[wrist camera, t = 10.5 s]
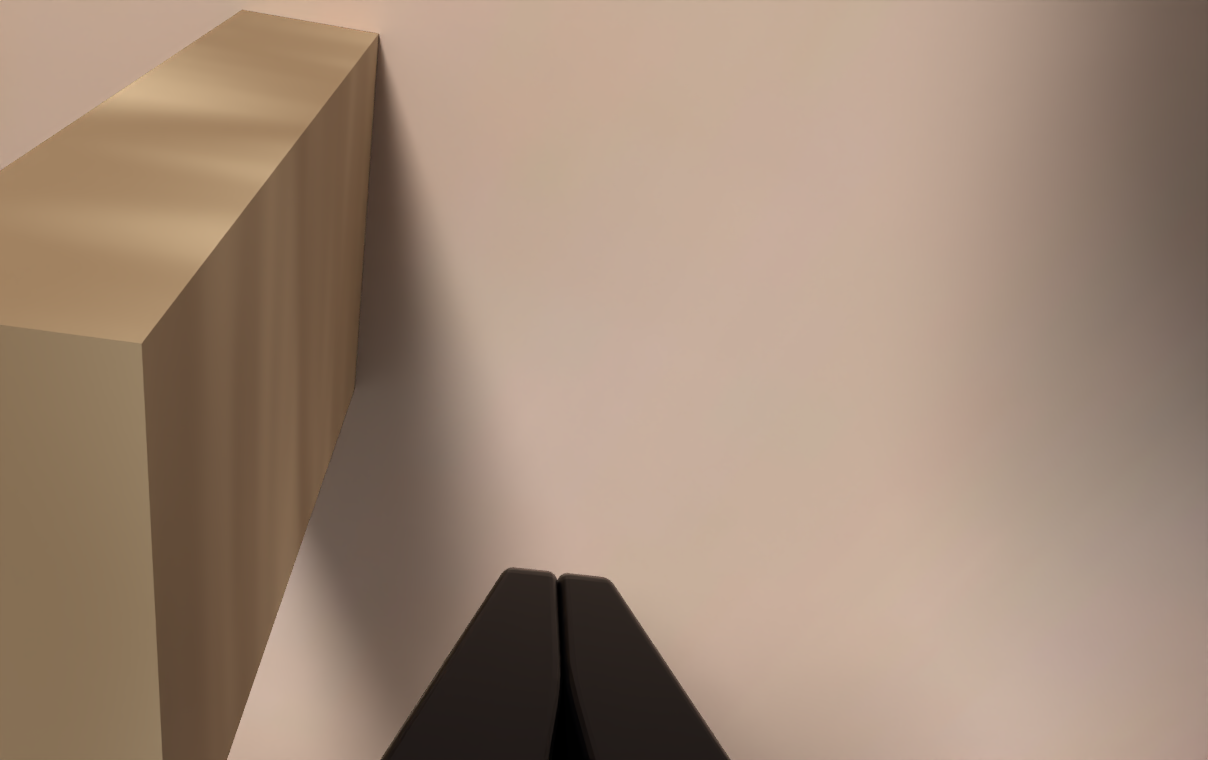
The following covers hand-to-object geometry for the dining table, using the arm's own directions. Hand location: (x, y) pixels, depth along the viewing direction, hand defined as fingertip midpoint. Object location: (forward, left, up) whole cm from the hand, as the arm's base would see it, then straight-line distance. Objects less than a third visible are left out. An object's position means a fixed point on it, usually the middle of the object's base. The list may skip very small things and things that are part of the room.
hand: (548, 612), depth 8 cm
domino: (+3, 0, -7) cm, 7 cm away
